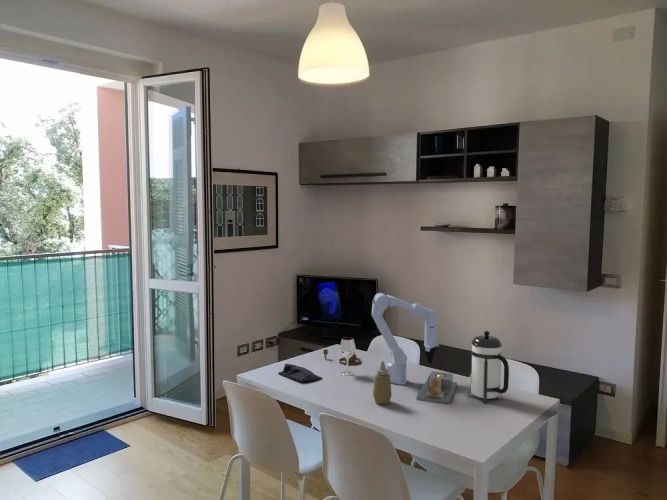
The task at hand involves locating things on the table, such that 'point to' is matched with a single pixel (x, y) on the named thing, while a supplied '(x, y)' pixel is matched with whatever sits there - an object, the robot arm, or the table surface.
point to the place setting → (350, 361)
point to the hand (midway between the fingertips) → (430, 362)
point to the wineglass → (347, 351)
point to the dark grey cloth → (298, 373)
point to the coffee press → (487, 367)
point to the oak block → (435, 386)
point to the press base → (446, 389)
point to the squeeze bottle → (382, 386)
